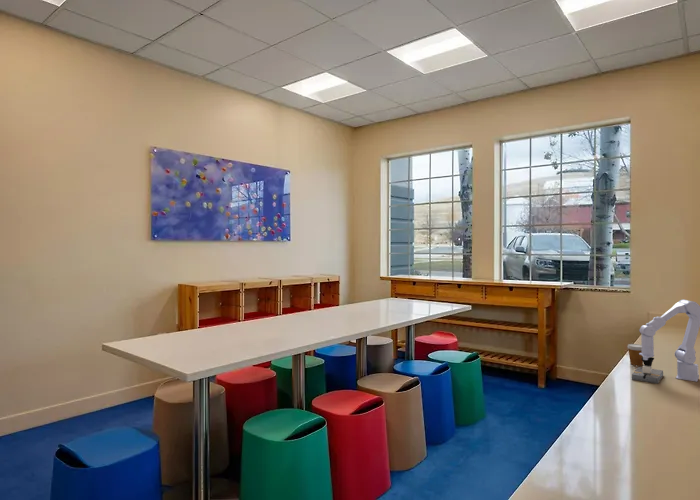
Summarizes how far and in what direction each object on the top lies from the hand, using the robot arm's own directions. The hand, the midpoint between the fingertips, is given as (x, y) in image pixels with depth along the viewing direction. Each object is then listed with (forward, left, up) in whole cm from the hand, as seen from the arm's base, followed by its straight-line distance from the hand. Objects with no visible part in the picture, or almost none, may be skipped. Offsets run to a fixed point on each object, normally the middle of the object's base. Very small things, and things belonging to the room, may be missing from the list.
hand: (647, 370), depth 245 cm
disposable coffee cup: (+10, -26, -4) cm, 28 cm away
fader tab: (0, +3, -2) cm, 4 cm away
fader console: (0, +1, -4) cm, 4 cm away
